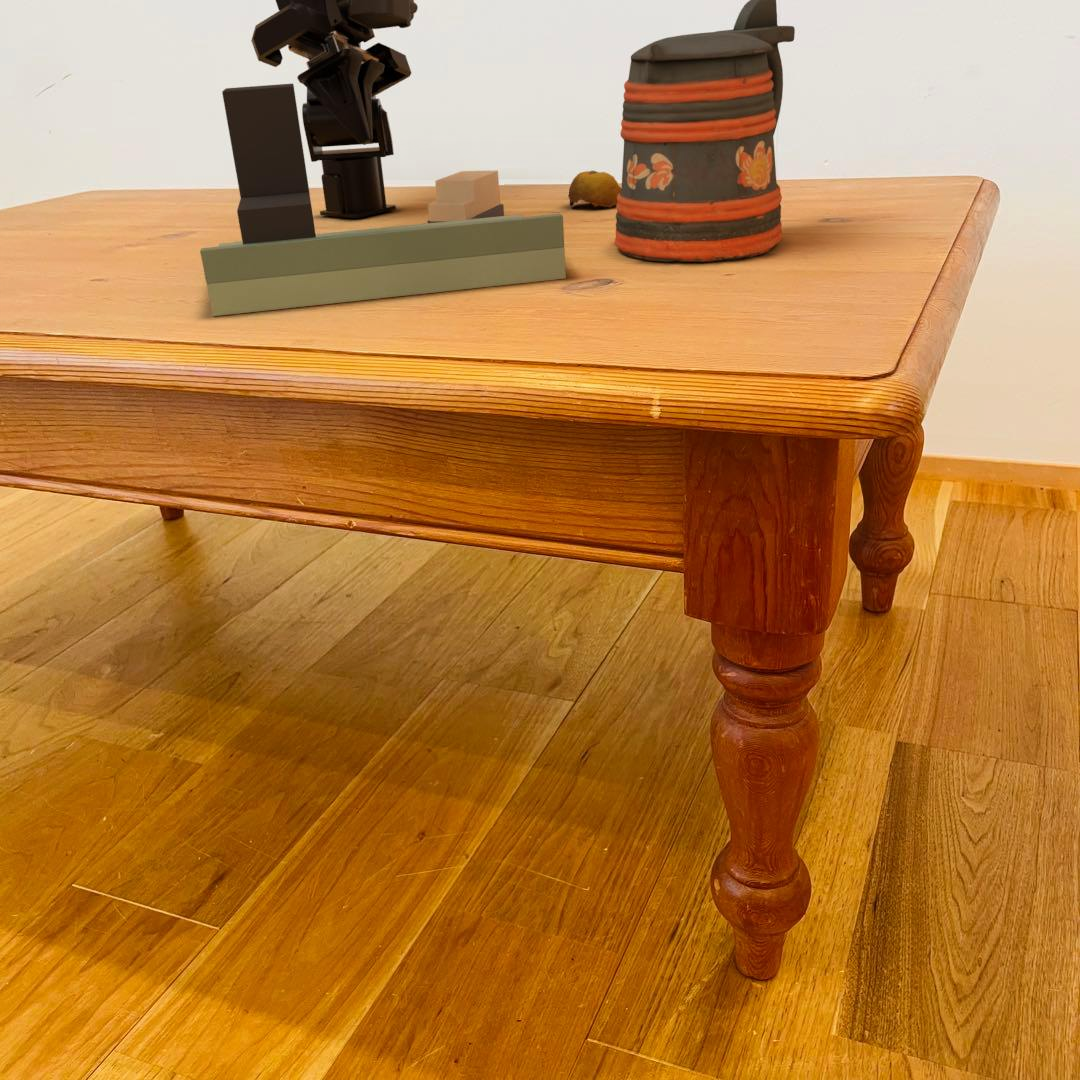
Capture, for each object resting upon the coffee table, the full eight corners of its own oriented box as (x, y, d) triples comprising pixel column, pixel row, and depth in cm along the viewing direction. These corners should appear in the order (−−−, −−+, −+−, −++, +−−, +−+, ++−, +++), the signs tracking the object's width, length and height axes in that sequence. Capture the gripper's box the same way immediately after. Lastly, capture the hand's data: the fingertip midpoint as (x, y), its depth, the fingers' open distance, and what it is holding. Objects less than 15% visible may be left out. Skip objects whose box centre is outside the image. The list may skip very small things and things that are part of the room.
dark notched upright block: (253, 249, 94) (225, 88, 88) (316, 243, 95) (293, 83, 89) (248, 277, 83) (216, 95, 77) (320, 269, 84) (294, 89, 78)
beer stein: (698, 219, 108) (699, -3, 99) (833, 228, 99) (847, -14, 91) (582, 255, 95) (572, 4, 87) (726, 270, 87) (731, -8, 78)
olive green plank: (224, 271, 99) (213, 215, 96) (522, 241, 103) (519, 186, 101) (212, 316, 83) (199, 250, 80) (566, 278, 87) (563, 215, 85)
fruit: (653, 200, 120) (653, 166, 119) (607, 212, 115) (606, 176, 113) (596, 196, 126) (595, 163, 124) (549, 208, 120) (547, 173, 119)
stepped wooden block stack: (466, 218, 117) (461, 170, 115) (504, 218, 116) (501, 169, 114) (428, 235, 109) (423, 184, 107) (469, 235, 107) (465, 183, 105)
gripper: (323, -100, 88) (387, 82, 89) (427, -31, 106) (480, 122, 106) (221, -33, 93) (283, 140, 94) (337, 23, 110) (388, 170, 111)
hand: (366, 142), depth 101 cm, fingers closed
